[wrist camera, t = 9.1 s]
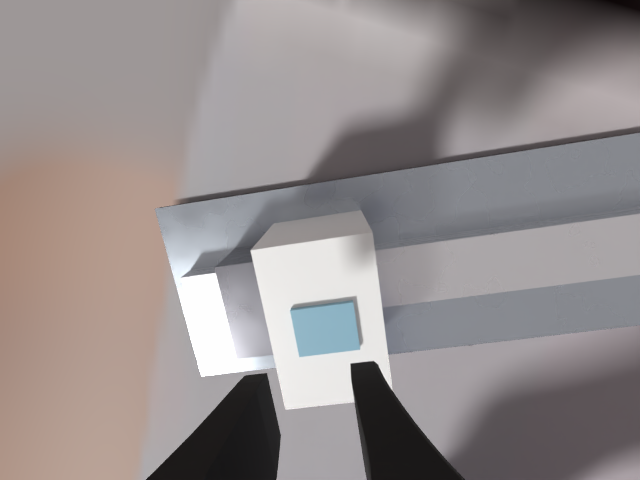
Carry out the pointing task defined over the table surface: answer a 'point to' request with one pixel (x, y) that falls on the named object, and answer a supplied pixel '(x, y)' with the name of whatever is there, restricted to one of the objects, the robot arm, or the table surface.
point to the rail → (435, 250)
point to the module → (321, 305)
